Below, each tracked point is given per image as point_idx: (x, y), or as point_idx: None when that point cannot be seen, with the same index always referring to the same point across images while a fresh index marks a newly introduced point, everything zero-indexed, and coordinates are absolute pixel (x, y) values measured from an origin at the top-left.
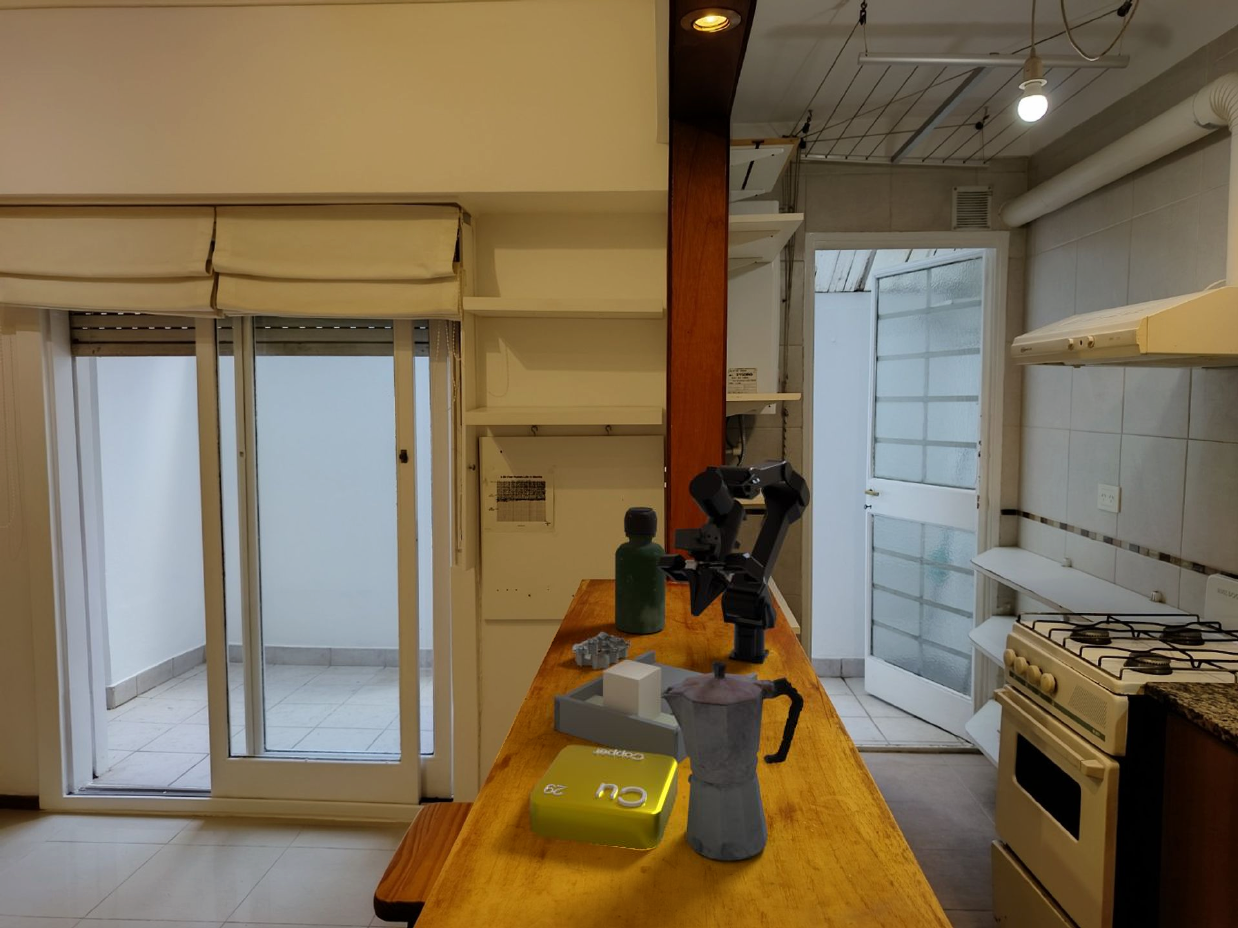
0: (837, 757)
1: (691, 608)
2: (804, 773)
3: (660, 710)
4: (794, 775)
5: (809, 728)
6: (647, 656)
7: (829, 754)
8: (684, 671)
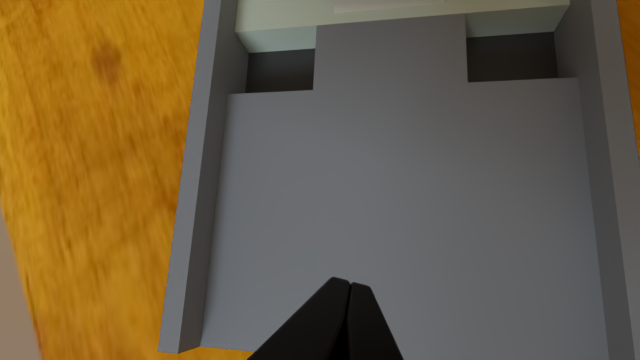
0: (8, 144)
1: (369, 303)
2: (52, 57)
3: (332, 5)
4: (65, 41)
5: (65, 241)
6: (627, 325)
7: (21, 147)
8: (446, 348)
